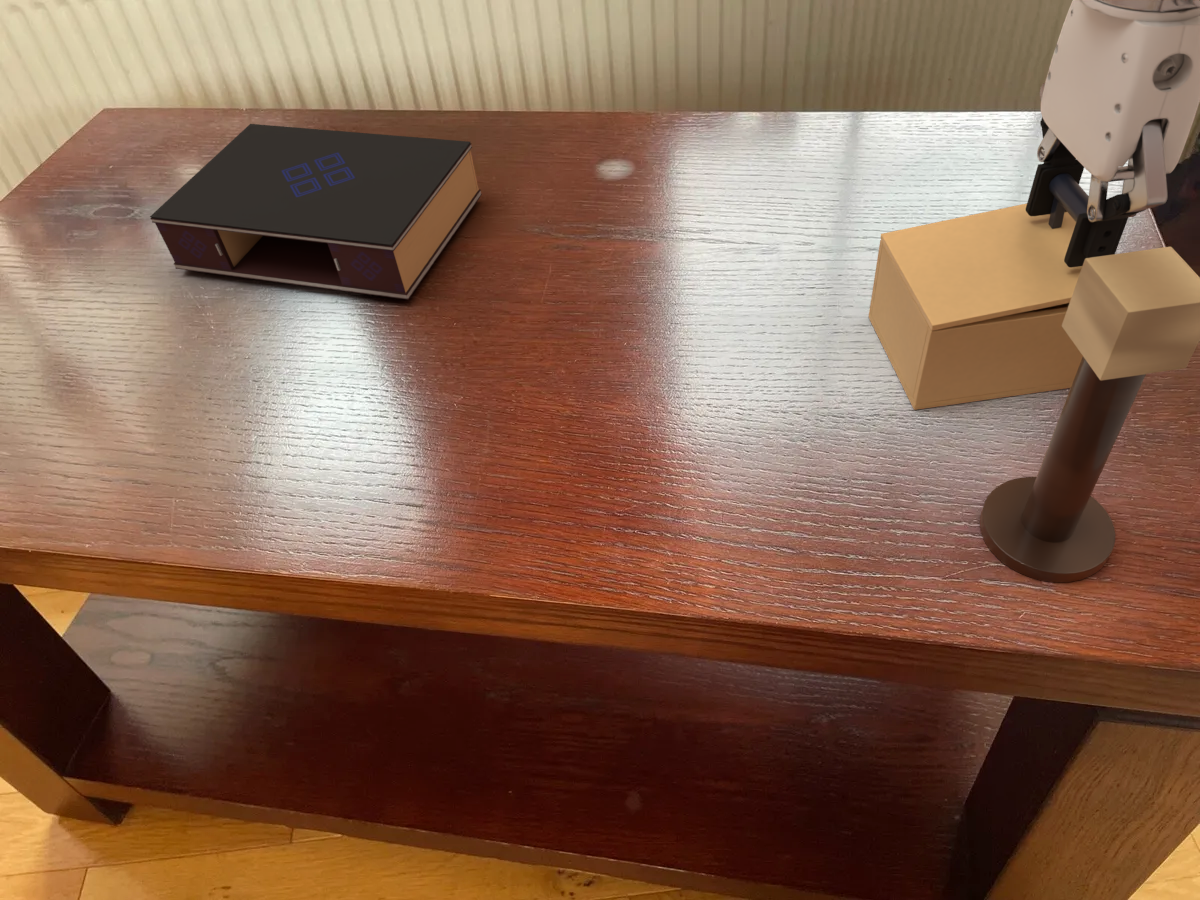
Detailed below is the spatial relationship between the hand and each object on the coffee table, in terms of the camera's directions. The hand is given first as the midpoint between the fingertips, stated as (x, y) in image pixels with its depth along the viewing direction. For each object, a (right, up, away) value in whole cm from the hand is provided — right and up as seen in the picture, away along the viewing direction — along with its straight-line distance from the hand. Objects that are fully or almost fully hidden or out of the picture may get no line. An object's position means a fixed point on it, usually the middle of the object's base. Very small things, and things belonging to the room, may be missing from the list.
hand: (1067, 234), depth 67 cm
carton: (-4, -7, +7) cm, 11 cm away
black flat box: (-60, +6, +26) cm, 65 cm away
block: (-6, -10, -17) cm, 20 cm away
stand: (-4, -21, -5) cm, 22 cm away
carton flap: (-4, -2, +1) cm, 5 cm away
